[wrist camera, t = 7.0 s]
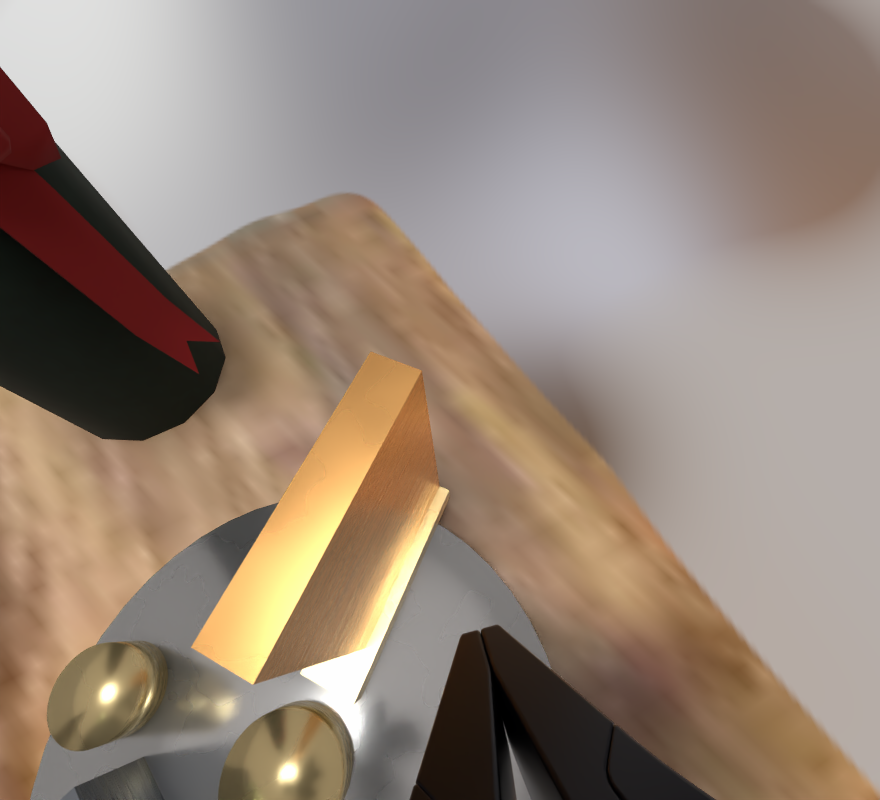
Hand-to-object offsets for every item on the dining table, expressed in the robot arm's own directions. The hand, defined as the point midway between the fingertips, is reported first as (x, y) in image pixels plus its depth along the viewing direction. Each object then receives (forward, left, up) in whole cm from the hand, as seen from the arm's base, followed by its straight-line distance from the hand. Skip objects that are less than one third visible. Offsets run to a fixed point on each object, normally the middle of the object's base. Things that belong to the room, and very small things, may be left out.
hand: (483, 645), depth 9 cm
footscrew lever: (+3, +3, -7) cm, 8 cm away
